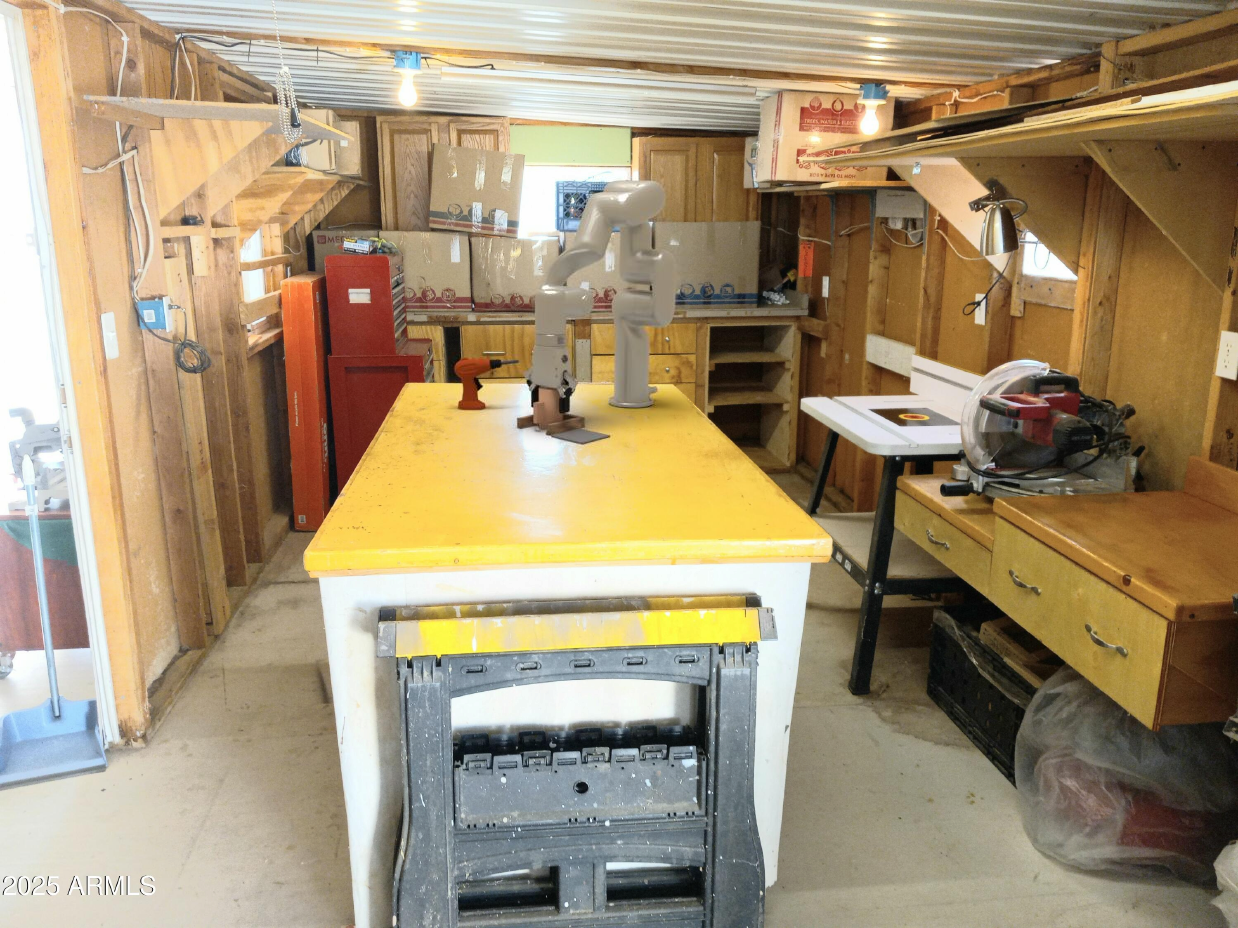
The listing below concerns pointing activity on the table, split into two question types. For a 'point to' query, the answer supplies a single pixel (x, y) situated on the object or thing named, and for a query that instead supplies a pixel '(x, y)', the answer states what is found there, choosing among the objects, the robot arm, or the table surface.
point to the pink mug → (547, 407)
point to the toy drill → (475, 379)
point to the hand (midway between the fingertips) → (550, 409)
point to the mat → (580, 436)
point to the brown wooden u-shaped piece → (567, 424)
